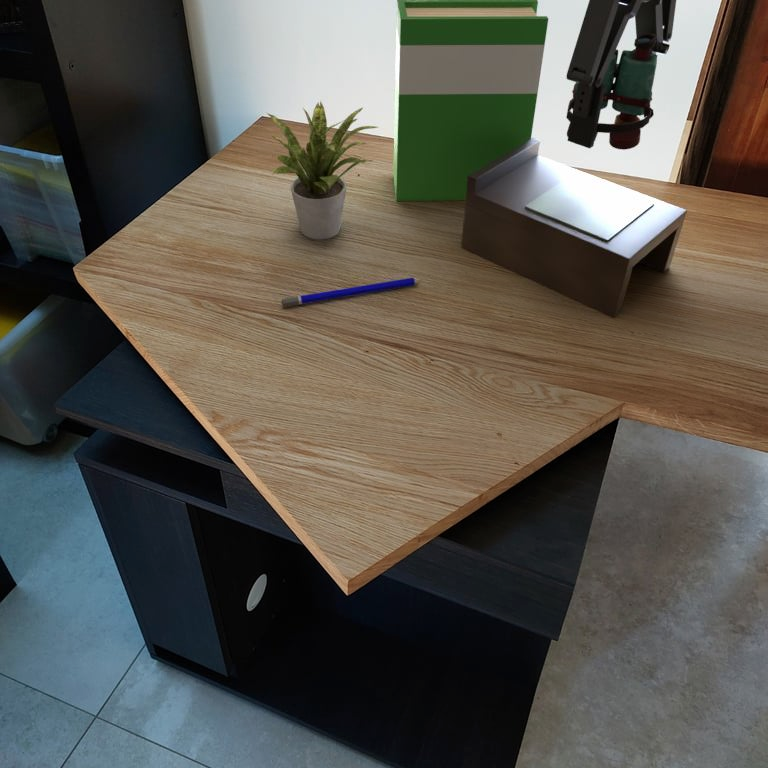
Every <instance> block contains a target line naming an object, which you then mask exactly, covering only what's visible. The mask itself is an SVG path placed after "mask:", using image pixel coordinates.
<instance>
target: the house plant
mask: <svg viewBox="0 0 768 768" xmlns="http://www.w3.org/2000/svg"><path fill="white" fill-rule="evenodd" d="M364 108H365V107H364V106H363V107H361V108H358V109H356V110H354V111H353V112H352V113H350V114H349V115H348V116H347V117H346V118H345V119H343V120H341V121H340V122H337V123H335V124H332V125H330V126H329V127H328V121H327V116H326V110H325V107H324V105H323V103H322V101H320V102H317V103H316V105H315V107H314V109H313V113H312V117H310V115H309V113H308V112H307V110H306V109H305V108H304V107H302V109H303V111H304V114H305V116H306V119H307V122H308V123H307V124H308V127H309V130H310V133H309V141H308V142H307V143H306V147H305V148H302V146H301V144H300V143H299V140H298V139H297V137H296V136H295V134H294V132H293V131H292V129H291V128H290V127H289V126H288V125H287V124H286V123H284V122H283V121H282V120H281V119H279V118H278V117H277V116H276V115H273V114H270V113H268V112H267V111H266V114H267V115H268V116H269V117H270V118H271V119H272V120H273V122H275V124H276V125H277V127H278V128H279V129H280V131H281V132H282V134H283V135H284V136H285V138H286V140H287V143H286V142H285V141H284V140H282V139H281V138H280V137H277V136H274V135H271V137H272V138H273V139H274V140H276V141H278V142H279V143H280V144H281V145H282V146H283V147H284V148H285V149H287V150H288V155H289V156H287V155H283V154H282V155H277V156H276V158H277V160H278V161H279V162H281V163H282V164H284V165H280V166H279V167H277V168H276V169H275V170H274V171H273V172H272V174H271V175H272V176H273V175H275V174H277V175H278V174H295V175H296V179H294V180H293V181H292V182H291V184H290V192H291V196H292V200H293V205H294V208H295V212H296V216H297V220H298V225H299V229H300V232H301V234H302V235H304V236H306V237H307V238H309V239H312V240H326V239H330V238H333V237H335V236H337V235H338V234H339V233H340V231H341V227H342V226H341V225H342V219H343V212H344V207H345V206H344V205H345V200H346V193H347V183H346V181H345V180H344V179H343V178H342V177H343V176H344V175H345V174H346V173H347V172H349V171H350V170H351V169H352V168H354V167H355V166H357V165H359V164H364V165H366V162H373V160H371V159H361V158H358V157H353V156H352V157H347V158H344V159H342V160H339V159H340V158H341V157H342V155H344V153H345V152H346V151H348V150H349V149H351V148H352V147H355V146H356V145H367V143H366V142H362V141H355V142H352V143H350V144H349V145H347V146H346V147H345V146H343V145H344V144H345V142H346V141H347V140H349V139H350V138H351V137H352V136H354V135H355V134H357V133H359V132H360V131H364V130H367V129H376V128H377V129H378V128H379V126H374V125H373V126H372V125H364V126H359V127H355V128H354V129H353V130H350V131H349V132H348V133H347V134H346V132H347V131H348V130H349V129H350V127H351V125H352V124H353V123H354V122H356V121H357V120H358V118H355V117H356V116H357V115H358V114H359V113H361V111H362V110H363V109H364ZM354 118H355V119H354ZM339 124H341V125H339ZM338 125H339V127H338V128H337V129H336V132H335V133H334V135H333V136H332V138H331V141H330V142H328V141H327V133H328V131H330V130H331V129H333V128H334V127H336V126H338ZM345 134H346V135H345ZM350 163H351V165H350V166H348V167H347V168H346V169H345V170H343V172H342V173H341V174H340V175H337V174H334V173H335V171H336V170H338V169H339V168H340V167H342V166H344V165H346V164H350Z"/></svg>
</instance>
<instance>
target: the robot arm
mask: <svg viewBox="0 0 768 768" xmlns="http://www.w3.org/2000/svg"><path fill="white" fill-rule="evenodd" d="M676 5H677V0H588V4H587V7H586V11H585V13H584V17H583V20H582V23H581V27H580V30H579V33H578V37H577V40H576V42H575V46H574V49H573V52H572V55H571V58H570V62H569V66H568V68H567V72H566V80H567V81H571V82H574V83H576V82H577V83H578V85H577V91H576V96H575V102H574V107H573V109H572V118H571V124H570V123H569V124H570V129H569V135H568V137H567V142H570V143H573V144H575V145H578V146H580V147H581V146H582V147H584V148H587V149H592V148H593V147H594V145H595V141H596V139H595V136H596V131H597V126H598V123H599V121H600V117H601V116H600V115H601V110H602V109H601V106H602V102H603V97H604V92H605V87H606V85H605V84H602V80H603V78H604V76H605V73H606V71H607V69H608V67H609V64H610V62H611V60H612V57H613V55H614V53H615V50H616V49H617V48H618V47H619V43H620V41H621V39H622V36H623V35H624V32H625V29H626V27H627V25H628V23H629V20H630V19H634V22H635V23H634V24H635V35H636V36H635V37H636V38H637V37H639V36H641V35H644V34H655V35H657V38H656V42H655V46H654V48H652V49H651V53H650V54H652V55H654V56H656V58H657V59H658V54H660V55H664V56H665V55H666V54H668V52H669V48H670V43H669V42H670V41H671V39H672V36H673V30H674V22H675V15H676ZM636 38H635V39H636ZM668 43H669V44H668ZM631 51H635V48H634V49H632V50H631ZM641 116H642V115H638V116H637V117H641Z"/></svg>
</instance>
